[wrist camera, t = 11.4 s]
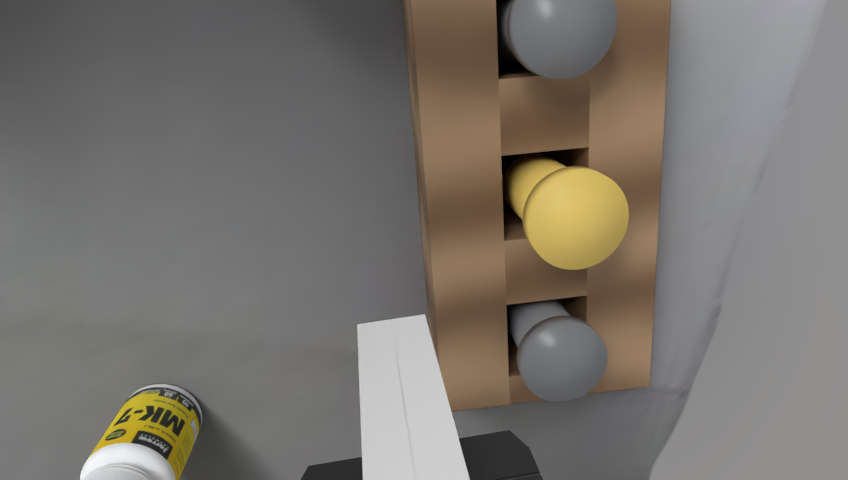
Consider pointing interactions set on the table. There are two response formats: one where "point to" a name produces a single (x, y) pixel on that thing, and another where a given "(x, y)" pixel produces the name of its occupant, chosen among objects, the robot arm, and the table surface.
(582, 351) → the graphite plug
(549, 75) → the graphite plug
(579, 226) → the ochre plug
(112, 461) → the supplement bottle
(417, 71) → the walnut plug block
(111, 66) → the table surface
